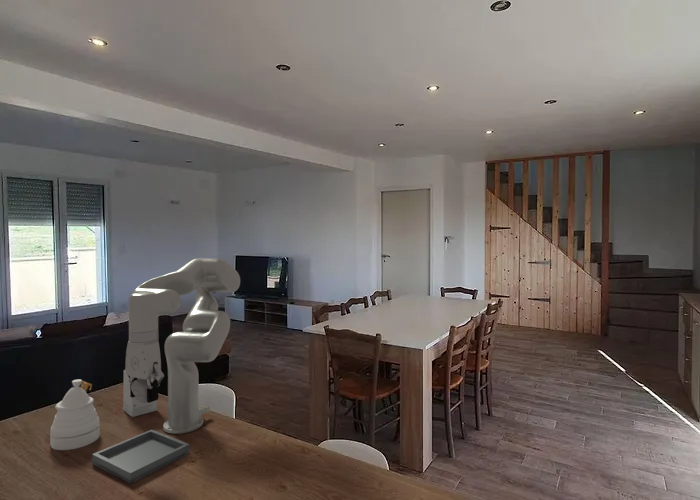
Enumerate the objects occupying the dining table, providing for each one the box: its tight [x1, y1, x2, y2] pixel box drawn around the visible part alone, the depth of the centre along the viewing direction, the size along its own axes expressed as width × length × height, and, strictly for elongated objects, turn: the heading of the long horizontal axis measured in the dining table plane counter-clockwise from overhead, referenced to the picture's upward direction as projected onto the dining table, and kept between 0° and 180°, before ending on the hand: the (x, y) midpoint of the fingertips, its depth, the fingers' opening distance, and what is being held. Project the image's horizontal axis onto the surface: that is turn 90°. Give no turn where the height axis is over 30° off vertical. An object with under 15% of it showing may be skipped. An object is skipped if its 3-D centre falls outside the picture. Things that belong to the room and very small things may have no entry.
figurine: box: [79, 380, 93, 393], centre depth 150 cm, size 8×6×12 cm
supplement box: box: [122, 369, 158, 418], centre depth 154 cm, size 9×9×15 cm
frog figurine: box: [131, 379, 152, 403], centre depth 120 cm, size 6×7×7 cm
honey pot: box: [49, 378, 101, 451], centre depth 131 cm, size 13×13×18 cm
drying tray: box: [91, 429, 190, 485], centre depth 120 cm, size 18×18×3 cm
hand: (144, 398), depth 120 cm, fingers closed on frog figurine, 6 cm apart
